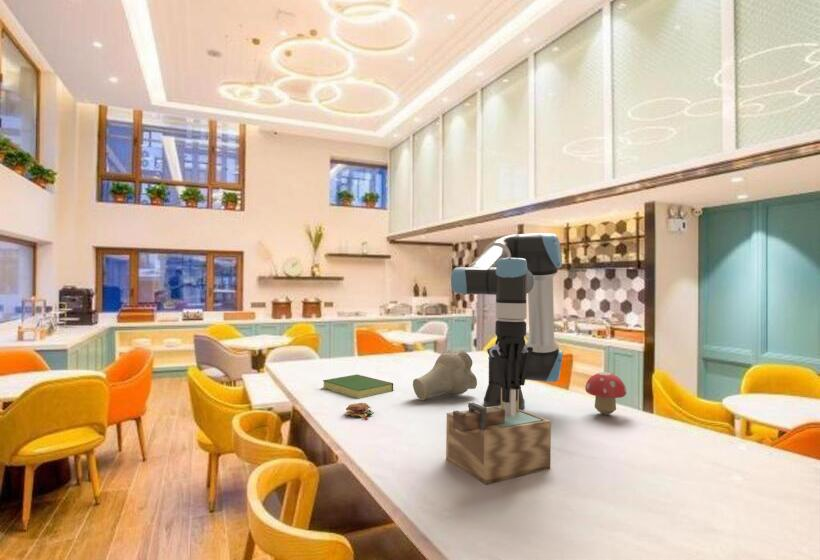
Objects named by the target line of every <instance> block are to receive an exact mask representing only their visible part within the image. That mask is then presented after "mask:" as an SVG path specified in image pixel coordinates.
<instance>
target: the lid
mask: <svg viewBox="0 0 820 560" xmlns="http://www.w3.org/2000/svg"><path fill="white" fill-rule="evenodd" d="M498 408H501V409H503V410H504V402H503V401H502V388H501V407H498ZM491 409H493V408H491ZM538 421H542V420H541V419H538V418H535V417H533V416H530V415H527V414H525V413H522V412H519V389H518V399H517V401H516V416H512V417H511V416H508V415H506V414H505V423H503V424H497V425H496V426H498V427H500V428H504V427H510V426H515V425H521V424H527V423H532V422H538Z"/></svg>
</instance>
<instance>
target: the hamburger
mask: <svg viewBox="0 0 820 560" xmlns="http://www.w3.org/2000/svg"><path fill="white" fill-rule="evenodd" d="M345 410H346V412H345V416H348V415H349V416H350V417H353V416H354V418H362V419H361V421H368V420H369V417H367V416H368V415H372V414H373V413H375V412H374V411H373V410H372V407H371V406H370V405H369V404H368V403H367V402H358V403H352V404H349V405H348V406H347V407H346V408H345ZM363 418H364V419H363Z"/></svg>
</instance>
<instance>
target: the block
mask: <svg viewBox="0 0 820 560" xmlns="http://www.w3.org/2000/svg"><path fill="white" fill-rule="evenodd" d="M459 411H460V410H453V411H452V412H453V428H455V429H457V430H459V431H465V430H468V429H474V428H480V412H478V411H473V412H466V413H462V412H459ZM503 423H505V410H503V409H501V408H493V409H486V426H491V425H497V424H503Z"/></svg>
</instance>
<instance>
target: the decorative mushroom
mask: <svg viewBox="0 0 820 560" xmlns="http://www.w3.org/2000/svg"><path fill="white" fill-rule="evenodd" d="M584 389H585V392H586V393H588V394H589V395H591V396H595V400H594V409H596V410H597V411H598V412H599V413H600V414H601V415H611V414H613V413H614V412H615V411H617V403H616V402H617V401H616V399H619V398H623V397H625V396H626V395H627V389H626V385H625V383H624V382H623V381H622V379H621V378H620V377H619V376H618V375H616V374H614V373H612V372H608V371H600V372H596V373H594V374H593V375H591V376H590V377H589V378H588V380H587V382H586V383H585V388H584Z"/></svg>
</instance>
